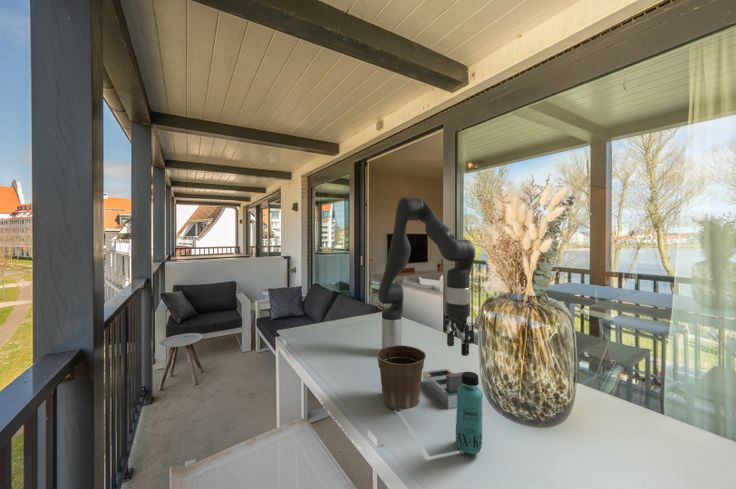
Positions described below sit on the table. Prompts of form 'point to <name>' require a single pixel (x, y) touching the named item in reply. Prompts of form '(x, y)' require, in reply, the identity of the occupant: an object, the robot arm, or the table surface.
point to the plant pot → (401, 375)
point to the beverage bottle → (469, 414)
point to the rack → (440, 386)
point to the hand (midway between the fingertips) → (457, 350)
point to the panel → (453, 382)
